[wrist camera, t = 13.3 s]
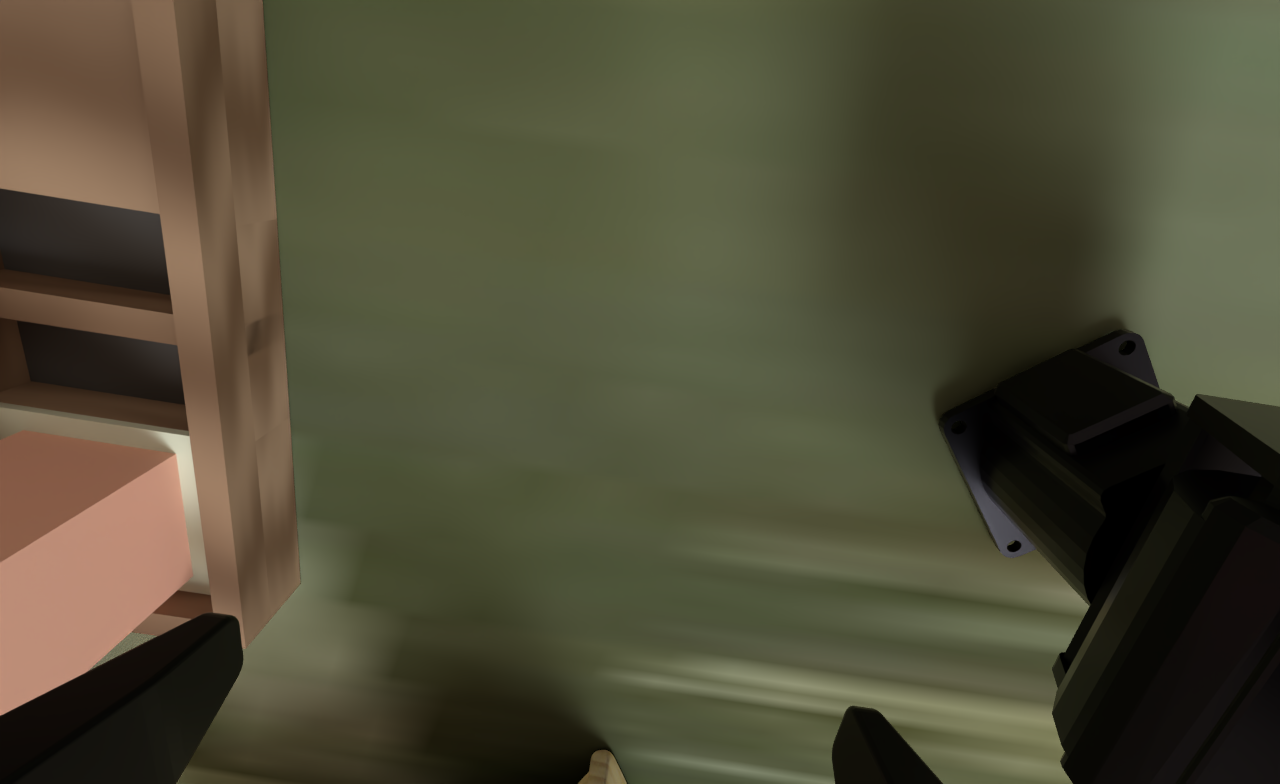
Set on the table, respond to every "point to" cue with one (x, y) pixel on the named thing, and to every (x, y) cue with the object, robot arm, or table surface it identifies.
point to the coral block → (81, 554)
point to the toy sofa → (603, 770)
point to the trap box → (153, 270)
